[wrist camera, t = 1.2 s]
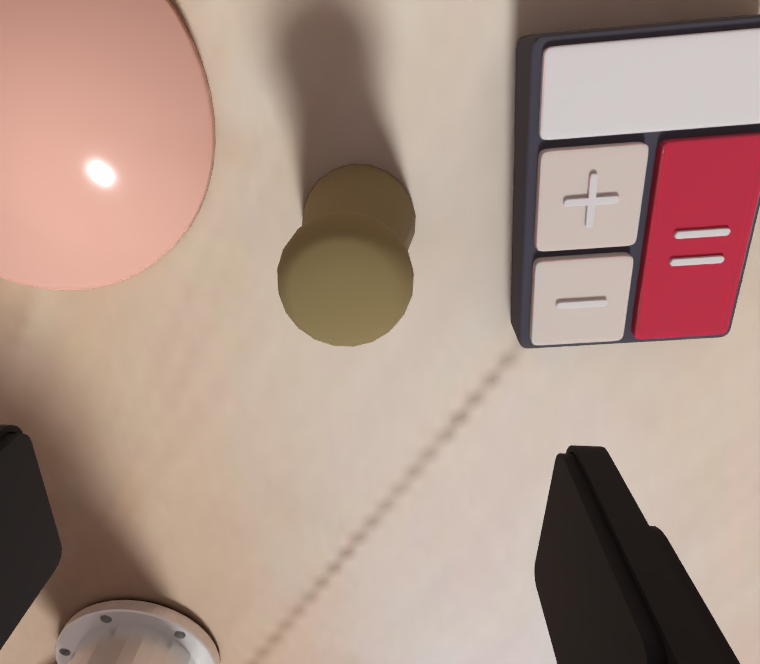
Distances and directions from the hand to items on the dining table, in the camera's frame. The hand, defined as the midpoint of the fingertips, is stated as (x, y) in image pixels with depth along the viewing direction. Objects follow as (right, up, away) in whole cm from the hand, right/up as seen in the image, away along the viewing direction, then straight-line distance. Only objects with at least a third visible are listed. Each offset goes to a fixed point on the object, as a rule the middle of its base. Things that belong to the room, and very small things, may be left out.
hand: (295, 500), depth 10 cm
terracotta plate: (-16, +14, +18) cm, 28 cm away
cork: (0, +9, +20) cm, 22 cm away
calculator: (+14, +11, +19) cm, 26 cm away
